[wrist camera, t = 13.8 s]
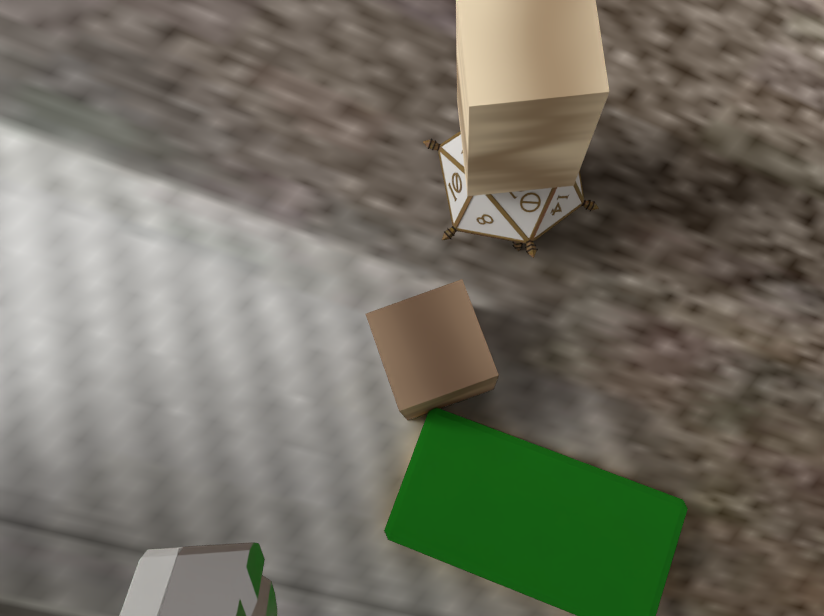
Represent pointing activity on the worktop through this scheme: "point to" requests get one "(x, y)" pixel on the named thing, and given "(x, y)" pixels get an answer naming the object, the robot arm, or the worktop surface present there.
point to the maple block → (527, 91)
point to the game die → (503, 203)
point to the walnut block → (433, 350)
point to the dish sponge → (535, 520)
